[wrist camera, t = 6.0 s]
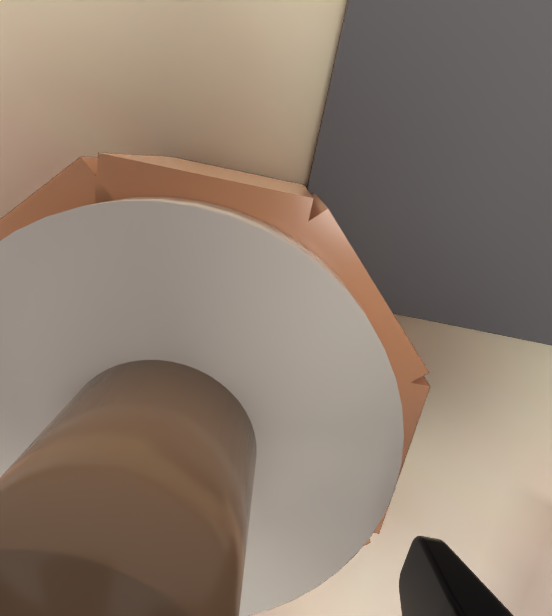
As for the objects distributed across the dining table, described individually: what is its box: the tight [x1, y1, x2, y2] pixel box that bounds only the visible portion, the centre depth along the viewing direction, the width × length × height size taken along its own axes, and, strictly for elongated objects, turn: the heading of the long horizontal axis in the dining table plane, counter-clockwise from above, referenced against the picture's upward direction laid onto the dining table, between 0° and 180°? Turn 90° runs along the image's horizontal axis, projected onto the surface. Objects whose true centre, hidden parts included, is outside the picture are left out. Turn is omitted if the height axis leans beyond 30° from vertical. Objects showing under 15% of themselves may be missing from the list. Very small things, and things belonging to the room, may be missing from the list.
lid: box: [0, 197, 404, 616], centre depth 7 cm, size 9×9×5 cm
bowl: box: [0, 153, 430, 547], centre depth 12 cm, size 10×10×5 cm
